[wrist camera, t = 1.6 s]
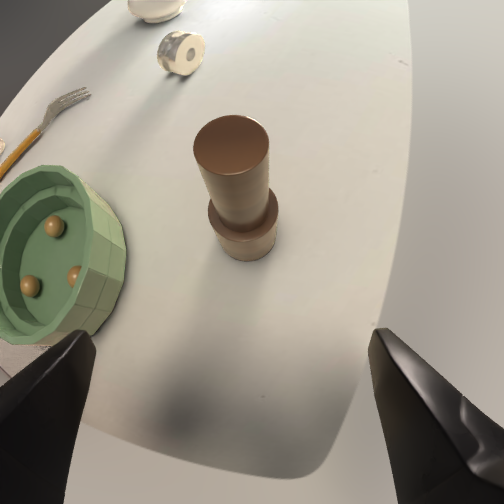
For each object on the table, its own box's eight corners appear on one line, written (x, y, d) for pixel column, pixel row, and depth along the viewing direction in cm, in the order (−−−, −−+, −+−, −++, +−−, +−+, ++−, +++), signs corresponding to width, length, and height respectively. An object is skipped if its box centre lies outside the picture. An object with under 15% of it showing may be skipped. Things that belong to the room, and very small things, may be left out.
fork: (-26, 204, 25) (85, 85, 27) (-30, 194, 25) (79, 78, 27) (-14, 208, 27) (92, 95, 30) (-18, 198, 27) (86, 88, 30)
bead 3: (94, 290, 23) (81, 286, 21) (75, 293, 23) (62, 289, 21) (93, 266, 23) (81, 261, 21) (75, 270, 23) (62, 264, 21)
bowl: (137, 341, 22) (98, 341, 16) (15, 346, 22) (-27, 343, 16) (129, 179, 26) (100, 143, 20) (18, 213, 26) (-17, 191, 20)
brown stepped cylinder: (280, 256, 23) (294, 179, 12) (223, 265, 23) (182, 197, 12) (270, 203, 24) (272, 99, 13) (216, 212, 24) (177, 115, 13)
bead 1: (44, 297, 23) (30, 294, 21) (29, 299, 23) (16, 296, 21) (43, 276, 23) (30, 271, 21) (29, 278, 23) (16, 274, 21)
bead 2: (67, 238, 24) (55, 231, 22) (51, 242, 24) (39, 235, 22) (68, 217, 24) (57, 209, 23) (53, 222, 24) (41, 214, 23)
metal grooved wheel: (181, 84, 29) (170, 50, 24) (161, 78, 29) (149, 46, 24) (207, 58, 30) (201, 25, 25) (187, 53, 30) (179, 22, 25)
